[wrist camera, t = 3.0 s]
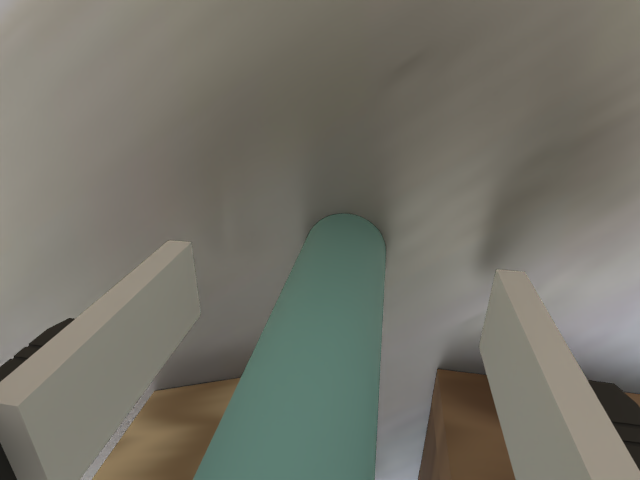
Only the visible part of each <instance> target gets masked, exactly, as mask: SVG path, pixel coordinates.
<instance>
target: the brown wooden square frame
mask: <svg viewBox="0 0 640 480" xmlns="http://www.w3.org/2000/svg"><path fill="white" fill-rule="evenodd" d="M624 393H625V392H624ZM625 394H627V395H628V396H629V397H630V398H631V399H632V400H634V401H635V402H636V403H637V404H638V405H639V407H640V394H633V393H625ZM418 480H516V479H515V476H514V472H513V468H512V465H511V461H510V457H509V454H508V450H507V447H506V443H505V439H504V436H503V432H502V429H501V425H500V421H499V418H498V414H497V411H496V407H495V403H494V400H493V396H492V393H491V389H490V385H489V382H488V378H487V375H482V374H474V373H466V372H458V371H450V370H442V369H437V374H436V380H435V385H434V391H433V397H432V404H431V410H430V416H429V421H428V427H427V433H426V438H425V444H424V450H423V455H422V461H421V467H420V471H419V476H418Z"/></svg>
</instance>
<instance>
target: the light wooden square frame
mask: <svg viewBox="0 0 640 480" xmlns="http://www.w3.org/2000/svg"><path fill="white" fill-rule="evenodd" d="M239 381H240V378H236V379H229V380H223V381H216V382H210V383H204V384H197V385H191V386H184V387H178V388H172V389H165V390H159V391H154V392H153V394H152V395H151V397H150V398H149V399H148V401H147V402H146V404H145V405H144V406H143V408H142V409H141V411H140V412H139V414H138V415H137V416H136V418H135V419H134V421H133V422H132V423H131V425H130V426H129V428H128V429H127V431H126V432H125V433H124V435H123V436H122V438H121V439H120V440H119V442H118V443H117V445H116V446H115V448H114V449H113V450H112V452H111V453H110V455H109V456H108V457H107V459H106V460H105V462H104V463H103V464H102V466H101V467H100V469H99V470H98V472H97V473H96V474H95V476H94V477H93V479H92V480H193V478H194V476H195V474H196V472H197V470H198V468H199V465H200V463H201V461H202V459H203V457H204V455H205V453H206V451H207V448H208V446H209V444H210V442H211V440H212V438H213V436H214V434H215V431H216V429H217V427H218V425H219V423H220V421H221V419H222V417H223V415H224V412H225V410H226V408H227V406H228V404H229V402H230V400H231V398H232V395H233V393H234V391H235V389H236V387H237V385H238V383H239Z"/></svg>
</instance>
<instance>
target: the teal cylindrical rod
mask: <svg viewBox="0 0 640 480" xmlns="http://www.w3.org/2000/svg"><path fill="white" fill-rule="evenodd" d="M385 262H386V247H385V242H384V239H383V237H382V235H381V233H380V232H379V230H378V229H377V228H376V227H375V226H374V225H373V224H372V223H371V222H369V221H368V220H366V219H364V218H362V217H360V216H357V215H353V214H343V213H341V214H334V215H330V216H328V217H325V218H324V219H322V220H320V221H319V222H318V223H316V224H315V225H314V227H313V228H312V229H311V231H310V232H309V234H308V236H307V239H306V241H305V243H304V245H303V247H302V249H301V251H300V253H299V255H298V258H297V260H296V262H295V264H294V266H293V268H292V270H291V272H290V275H289V277H288V279H287V281H286V283H285V285H284V287H283V289H282V292H281V294H280V296H279V298H278V300H277V302H276V304H275V306H274V308H273V311H272V313H271V315H270V317H269V319H268V321H267V323H266V325H265V328H264V330H263V332H262V334H261V336H260V338H259V340H258V342H257V345H256V347H255V349H254V351H253V353H252V355H251V357H250V359H249V361H248V364H247V366H246V368H245V370H244V372H243V374H242V376H241V378H240V381H239V383H238V385H237V387H236V389H235V391H234V393H233V395H232V398H231V400H230V402H229V404H228V406H227V408H226V410H225V412H224V415H223V417H222V419H221V421H220V423H219V425H218V427H217V429H216V431H215V434H214V436H213V438H212V440H211V442H210V444H209V446H208V448H207V451H206V453H205V455H204V457H203V459H202V461H201V463H200V465H199V468H198V470H197V472H196V474H195V476H194V478H193V480H375V460H376V440H377V420H378V400H379V381H380V361H381V341H382V321H383V301H384V281H385Z"/></svg>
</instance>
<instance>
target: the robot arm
mask: <svg viewBox="0 0 640 480" xmlns="http://www.w3.org/2000/svg"><path fill="white" fill-rule="evenodd" d="M200 315H201V310H200V302H199V295H198V287H197V280H196V272H195V265H194V257H193V249H192V242H184V241H173V240H168V241H167V242H166V243H165V244H164V245H162V246H161V247H160V248H159V249H158V250H157V251H155V252H154V253H153V254H152V255H151V256H149V257H148V258H147V259H146V260H145V261H143V262H142V263H141V264H140V265H139V266H138V267H136V268H135V269H134V270H133V271H132V272H130V273H129V274H128V275H127V276H126V277H124V278H123V279H122V280H121V281H120V282H119V283H117V284H116V285H115V286H114V287H113V288H111V289H110V290H109V291H108V292H107V293H105V294H104V295H103V296H102V297H101V298H100V299H98V300H97V301H96V302H95V303H94V304H92V305H91V306H90V307H89V308H88V309H86V310H85V311H84V312H83V313H82V314H80V315H79V316H78V317H77V318H76V319H72V318H69V319H67V320H65V321H63V322H61V323H59V324H57V325H55V326H53V327H51V328H49V329H47V330H46V331H44V332H43V333H42V334H41V335H39V336H38V337H37V338H36V339H34V340H33V341H32V342H31V343H29V346H28V347H24V348H23V349H22V350H21V351H19V352H18V353H17V354H16V355H14V358H13V359H9V360H8V361H7V362H6V363H5V364H3V365H2V366H1V367H0V480H80V479H81V477H82V476H83V475H84V473H85V472H86V471H87V469H88V468H89V467H90V465H91V464H92V462H93V461H94V460H95V458H96V457H97V456H98V454H99V453H100V452H101V450H102V449H103V447H104V446H105V445H106V443H107V442H108V441H109V439H110V438H111V437H112V435H113V434H114V433H115V431H116V430H117V428H118V427H119V426H120V424H121V423H122V422H123V420H124V419H125V418H126V416H127V415H128V413H129V412H130V411H131V409H132V408H133V407H134V405H135V404H136V403H137V401H138V400H139V398H140V397H141V396H142V394H143V393H144V392H145V390H146V389H147V388H148V386H149V385H150V383H151V382H152V381H153V379H154V378H155V377H156V375H157V374H158V373H159V371H160V370H161V368H162V367H163V366H164V364H165V363H166V362H167V360H168V359H169V358H170V356H171V355H172V354H173V352H174V351H175V349H176V348H177V347H178V345H179V344H180V343H181V341H182V340H183V339H184V337H185V336H186V334H187V333H188V332H189V330H190V329H191V328H192V326H193V325H194V324H195V322H196V321H197V319H198V318H199V317H200ZM479 349H480V353H481V356H482V360H483V364H484V367H485V371H486V374H487V378H488V382H489V385H490V389H491V393H492V396H493V400H494V403H495V407H496V411H497V414H498V418H499V421H500V425H501V429H502V432H503V436H504V439H505V443H506V447H507V450H508V454H509V457H510V461H511V465H512V468H513V472H514V476H515V479H516V480H640V407H639V405H638V404H637V403H636V402H635V401H634V400H632V399H631V398H630V397H629V396H628V395H627V394H625V393H624V392H623V391H622V390H621V389H620V388H618V387H617V386H616V385H615V384H613V383H605V382H596V381H588V380H587V379H586V377H585V375H584V374H583V372H582V370H581V368H580V367H579V365H578V363H577V361H576V360H575V358H574V356H573V354H572V353H571V351H570V349H569V348H568V346H567V344H566V342H565V341H564V339H563V337H562V335H561V334H560V332H559V330H558V328H557V327H556V325H555V323H554V321H553V320H552V318H551V316H550V315H549V313H548V311H547V309H546V308H545V306H544V304H543V302H542V301H541V299H540V297H539V295H538V294H537V292H536V290H535V289H534V287H533V285H532V283H531V282H530V280H529V278H528V276H527V275H526V273H525V272H521V271H510V270H499V269H496V272H495V277H494V281H493V286H492V290H491V295H490V299H489V304H488V308H487V312H486V317H485V321H484V326H483V330H482V335H481V339H480V344H479Z"/></svg>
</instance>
